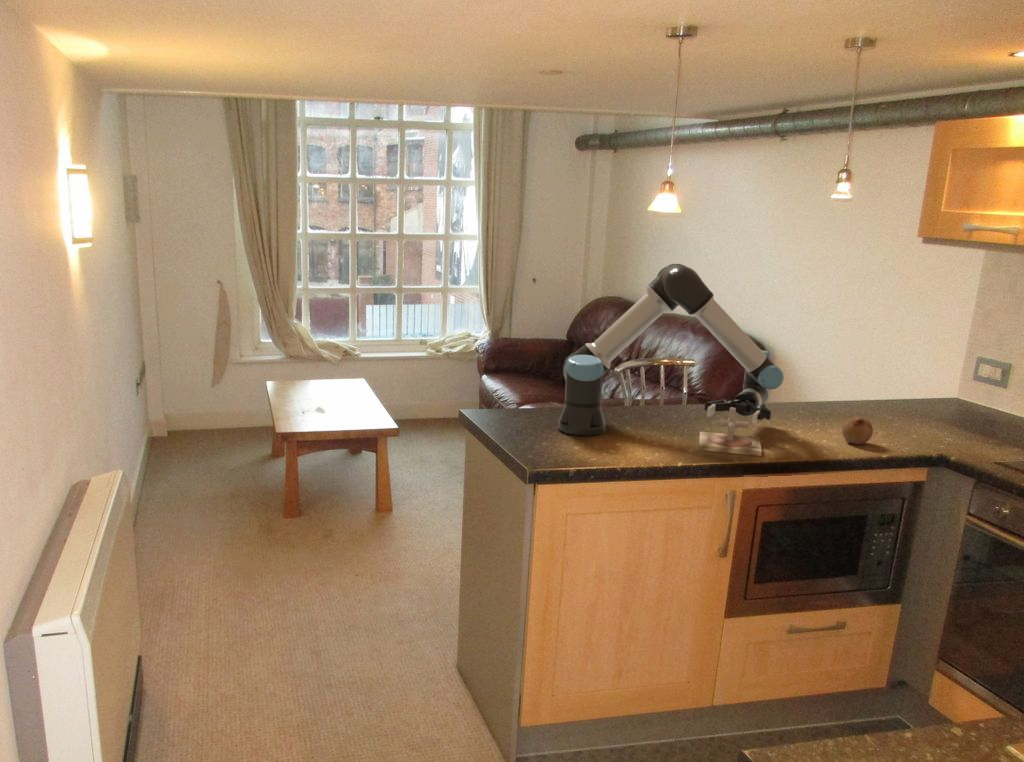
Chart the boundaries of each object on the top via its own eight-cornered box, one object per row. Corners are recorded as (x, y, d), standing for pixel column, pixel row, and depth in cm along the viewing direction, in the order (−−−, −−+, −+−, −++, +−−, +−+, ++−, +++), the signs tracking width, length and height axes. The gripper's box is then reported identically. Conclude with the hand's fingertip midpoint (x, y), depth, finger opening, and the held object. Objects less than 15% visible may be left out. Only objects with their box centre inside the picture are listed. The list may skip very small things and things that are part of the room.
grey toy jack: (748, 445, 243) (751, 412, 241) (713, 442, 245) (716, 410, 243) (745, 437, 252) (748, 405, 251) (712, 434, 254) (715, 403, 252)
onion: (858, 455, 254) (863, 432, 248) (833, 441, 260) (838, 418, 254) (876, 441, 257) (881, 419, 251) (851, 428, 263) (856, 405, 258)
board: (698, 449, 243) (699, 444, 243) (699, 436, 259) (700, 430, 258) (761, 456, 239) (761, 450, 239) (758, 441, 255) (759, 435, 254)
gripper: (785, 419, 258) (771, 434, 240) (708, 408, 270) (689, 421, 251) (788, 396, 257) (774, 409, 238) (710, 386, 268) (691, 398, 250)
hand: (730, 415), depth 245 cm, fingers open, 13 cm apart
